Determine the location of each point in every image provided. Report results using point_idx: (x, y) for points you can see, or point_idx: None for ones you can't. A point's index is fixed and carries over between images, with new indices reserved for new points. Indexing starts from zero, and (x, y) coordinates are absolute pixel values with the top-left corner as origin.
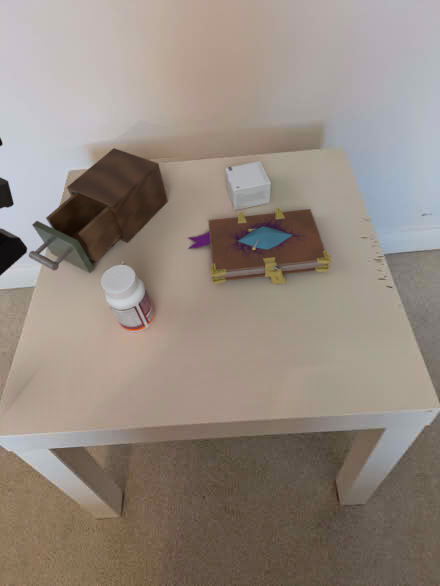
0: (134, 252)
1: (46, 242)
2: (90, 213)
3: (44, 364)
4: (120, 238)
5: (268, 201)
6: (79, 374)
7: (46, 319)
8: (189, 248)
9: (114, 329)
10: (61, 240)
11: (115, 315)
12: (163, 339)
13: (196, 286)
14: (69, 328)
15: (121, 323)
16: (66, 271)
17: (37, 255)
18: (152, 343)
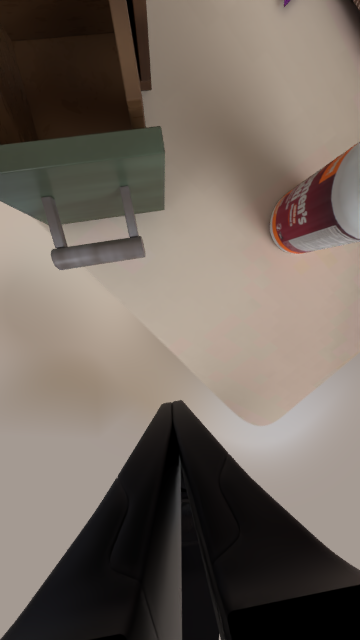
0: (184, 104)
1: (48, 206)
2: (4, 41)
3: (235, 363)
4: None
5: None
6: (284, 340)
7: (176, 322)
8: (287, 3)
9: (277, 264)
10: (107, 165)
11: (325, 247)
12: None
13: (344, 98)
14: (218, 308)
15: (314, 250)
16: (113, 237)
17: (79, 253)
18: None
